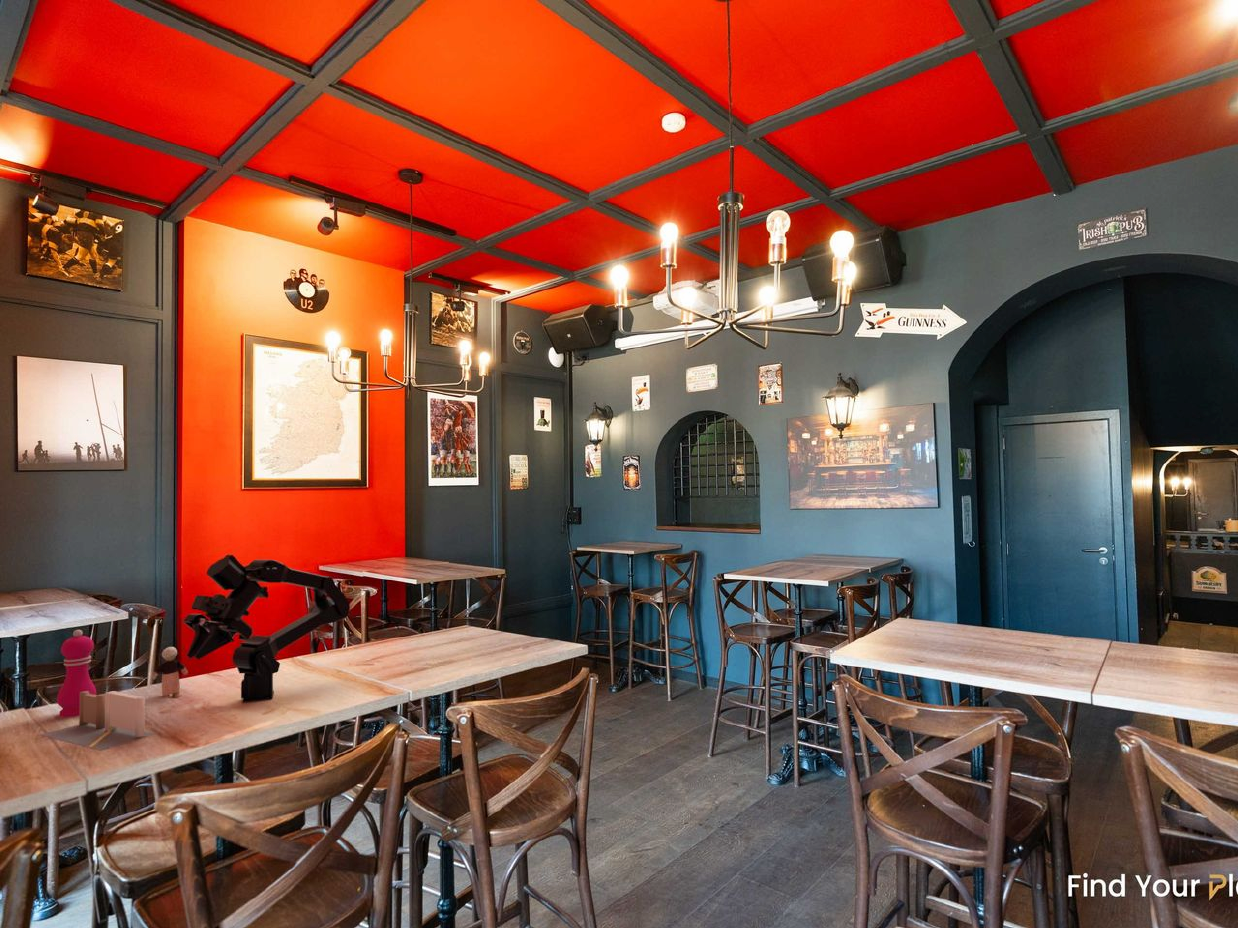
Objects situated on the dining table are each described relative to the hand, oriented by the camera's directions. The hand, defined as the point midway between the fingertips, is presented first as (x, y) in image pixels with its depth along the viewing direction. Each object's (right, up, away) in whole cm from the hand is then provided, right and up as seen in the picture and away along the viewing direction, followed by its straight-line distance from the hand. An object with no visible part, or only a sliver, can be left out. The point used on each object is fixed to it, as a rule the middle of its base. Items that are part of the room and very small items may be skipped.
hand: (192, 657), depth 154 cm
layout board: (-12, -13, -13) cm, 22 cm away
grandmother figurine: (-16, -15, +17) cm, 28 cm away
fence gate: (-6, -12, -12) cm, 19 cm away
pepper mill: (-29, -15, +3) cm, 33 cm away
